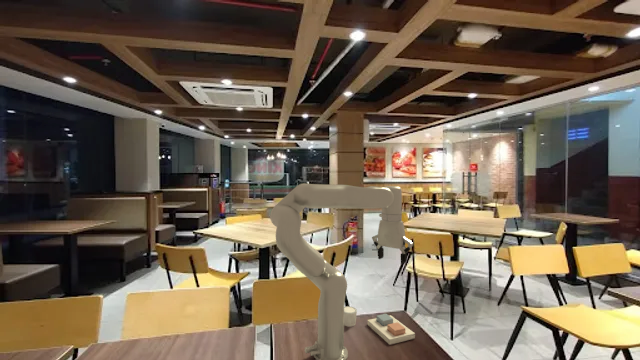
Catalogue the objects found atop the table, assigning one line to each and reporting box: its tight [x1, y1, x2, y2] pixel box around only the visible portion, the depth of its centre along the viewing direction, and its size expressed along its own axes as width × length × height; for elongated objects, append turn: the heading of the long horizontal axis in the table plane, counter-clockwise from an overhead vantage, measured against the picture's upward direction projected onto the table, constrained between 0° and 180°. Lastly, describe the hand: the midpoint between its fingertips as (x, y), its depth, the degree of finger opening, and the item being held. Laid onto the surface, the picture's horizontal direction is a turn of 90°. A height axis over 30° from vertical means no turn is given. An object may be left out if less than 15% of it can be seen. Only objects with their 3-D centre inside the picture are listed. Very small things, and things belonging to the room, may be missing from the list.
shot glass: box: [344, 305, 358, 328], centre depth 131 cm, size 7×7×7 cm
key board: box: [367, 314, 416, 345], centre depth 125 cm, size 12×16×3 cm
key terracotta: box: [387, 322, 405, 336], centre depth 121 cm, size 5×5×2 cm
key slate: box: [375, 313, 393, 326], centre depth 129 cm, size 5×5×2 cm
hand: (391, 260), depth 119 cm, fingers open, 9 cm apart
